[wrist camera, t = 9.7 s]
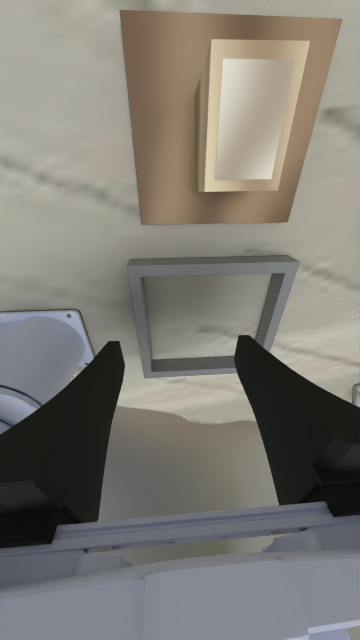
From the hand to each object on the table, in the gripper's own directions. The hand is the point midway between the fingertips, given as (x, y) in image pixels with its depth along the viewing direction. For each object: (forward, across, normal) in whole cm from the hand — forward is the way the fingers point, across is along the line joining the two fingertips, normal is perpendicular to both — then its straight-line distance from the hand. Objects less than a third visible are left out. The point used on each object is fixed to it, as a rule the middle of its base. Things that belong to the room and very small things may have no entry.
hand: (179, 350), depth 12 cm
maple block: (+8, -4, -11) cm, 14 cm away
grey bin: (+9, -4, +4) cm, 11 cm away
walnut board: (+9, -4, -11) cm, 15 cm away
